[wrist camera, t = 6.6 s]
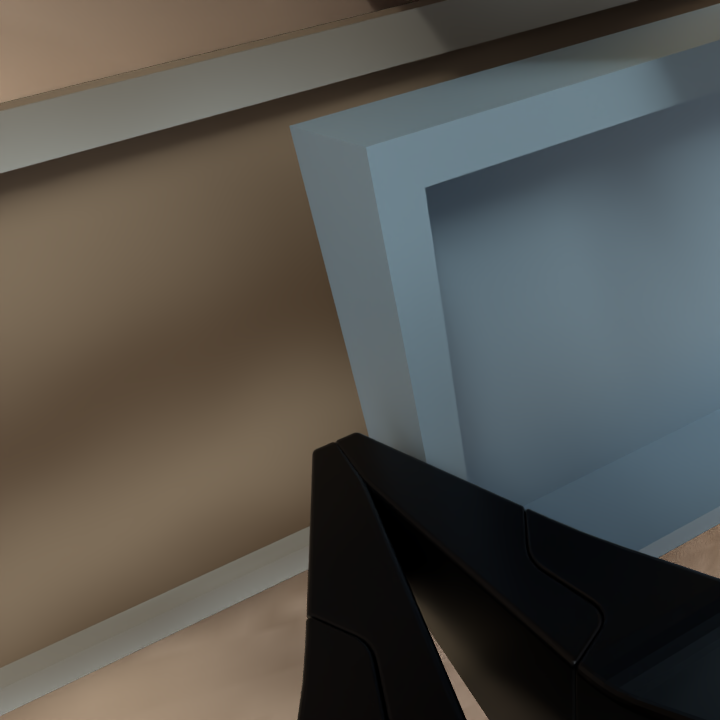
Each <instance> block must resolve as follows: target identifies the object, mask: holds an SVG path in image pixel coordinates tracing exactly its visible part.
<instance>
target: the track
mask: <svg viewBox="0 0 720 720" xmlns="http://www.w3.org/2000/svg"><path fill="white" fill-rule="evenodd" d="M719 3H720V0H421V1H416V2H412V3H408V4H404V5H400V6H396V7H392V8H388V9H384V10H380V11H376V12H372V13H367V14H363V15H359V16H355V17H351V18H347V19H343V20H339V21H335V22H331V23H327V24H323V25H318V26H314V27H310V28H306V29H302V30H298V31H294V32H290V33H286V34H282V35H278V36H274V37H269V38H265V39H261V40H257V41H253V42H249V43H245V44H241V45H237V46H233V47H229V48H225V49H220V50H216V51H212V52H208V53H204V54H200V55H196V56H192V57H188V58H184V59H180V60H176V61H171V62H167V63H163V64H159V65H155V66H151V67H147V68H143V69H139V70H135V71H131V72H127V73H122V74H118V75H114V76H110V77H106V78H102V79H98V80H94V81H90V82H86V83H82V84H78V85H73V86H69V87H65V88H61V89H57V90H53V91H49V92H45V93H41V94H37V95H33V96H29V97H24V98H20V99H16V100H12V101H8V102H4V103H0V716H1V715H3V714H6V713H8V712H10V711H12V710H14V709H16V708H18V707H20V706H22V705H24V704H26V703H29V702H31V701H33V700H35V699H37V698H39V697H41V696H43V695H45V694H47V693H50V692H52V691H54V690H56V689H58V688H60V687H62V686H64V685H66V684H68V683H71V682H73V681H75V680H77V679H79V678H81V677H83V676H85V675H87V674H89V673H92V672H94V671H96V670H98V669H100V668H102V667H104V666H106V665H108V664H110V663H112V662H115V661H117V660H119V659H121V658H123V657H125V656H127V655H129V654H131V653H133V652H136V651H138V650H140V649H142V648H144V647H146V646H148V645H150V644H152V643H154V642H157V641H159V640H161V639H163V638H165V637H167V636H169V635H171V634H173V633H175V632H177V631H180V630H182V629H184V628H186V627H188V626H190V625H192V624H194V623H196V622H198V621H201V620H203V619H205V618H207V617H209V616H211V615H213V614H215V613H217V612H219V611H222V610H224V609H226V608H228V607H230V606H232V605H234V604H236V603H238V602H240V601H242V600H245V599H247V598H249V597H251V596H253V595H255V594H257V593H259V592H261V591H263V590H266V589H268V588H270V587H272V586H274V585H276V584H278V583H280V582H282V581H284V580H287V579H289V578H291V577H293V576H295V575H297V574H299V573H301V572H303V571H305V570H307V569H308V563H309V534H310V505H311V476H312V453H313V451H314V450H315V449H317V448H319V447H322V446H324V445H327V444H329V443H331V442H336V441H337V440H338V439H341V438H343V437H345V436H348V435H350V434H352V433H355V432H357V433H361V434H363V435H366V436H368V437H369V435H368V431H367V427H366V423H365V419H364V415H363V412H362V408H361V404H360V400H359V396H358V392H357V388H356V384H355V380H354V376H353V373H352V369H351V365H350V361H349V357H348V353H347V349H346V345H345V341H344V337H343V334H342V330H341V326H340V322H339V318H338V314H337V310H336V306H335V302H334V299H333V295H332V291H331V287H330V283H329V279H328V275H327V271H326V267H325V263H324V260H323V256H322V252H321V248H320V244H319V240H318V236H317V232H316V228H315V224H314V221H313V217H312V213H311V209H310V205H309V201H308V197H307V193H306V189H305V185H304V182H303V178H302V174H301V170H300V166H299V162H298V158H297V154H296V150H295V146H294V143H293V139H292V135H291V131H290V127H289V126H291V125H294V124H298V123H301V122H305V121H308V120H312V119H315V118H319V117H322V116H326V115H329V114H333V113H336V112H340V111H343V110H347V109H350V108H354V107H357V106H361V105H364V104H368V103H371V102H375V101H378V100H382V99H385V98H389V97H392V96H396V95H400V94H403V93H407V92H410V91H414V90H417V89H421V88H424V87H428V86H431V85H435V84H438V83H442V82H445V81H449V80H452V79H456V78H459V77H463V76H466V75H470V74H473V73H477V72H480V71H484V70H487V69H491V68H494V67H498V66H501V65H505V64H508V63H512V62H515V61H519V60H523V59H526V58H530V57H533V56H537V55H540V54H544V53H547V52H551V51H554V50H558V49H561V48H565V47H568V46H572V45H575V44H579V43H582V42H586V41H589V40H593V39H596V38H600V37H603V36H607V35H610V34H614V33H617V32H621V31H624V30H628V29H631V28H635V27H638V26H642V25H646V24H649V23H653V22H656V21H660V20H663V19H667V18H670V17H674V16H677V15H681V14H684V13H688V12H691V11H695V10H698V9H702V8H705V7H709V6H712V5H716V4H719Z"/></svg>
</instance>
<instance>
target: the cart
mask: <svg viewBox="0 0 720 720" xmlns="http://www.w3.org/2000/svg"><path fill="white" fill-rule="evenodd" d="M289 127H290V131H291V135H292V139H293V143H294V146H295V150H296V154H297V158H298V162H299V166H300V170H301V174H302V178H303V182H304V185H305V189H306V193H307V197H308V201H309V205H310V209H311V213H312V217H313V221H314V224H315V228H316V232H317V236H318V240H319V244H320V248H321V252H322V256H323V260H324V263H325V267H326V271H327V275H328V279H329V283H330V287H331V291H332V295H333V299H334V302H335V306H336V310H337V314H338V318H339V322H340V326H341V330H342V334H343V337H344V341H345V345H346V349H347V353H348V357H349V361H350V365H351V369H352V373H353V376H354V380H355V384H356V388H357V392H358V396H359V400H360V404H361V408H362V412H363V415H364V419H365V423H366V427H367V431H368V435H369V437H370V438H372V439H374V440H377V441H379V442H381V443H383V444H386V445H388V446H390V447H392V448H395V449H397V450H399V451H401V452H403V453H406V454H408V455H410V456H412V457H415V458H417V459H419V460H421V461H424V462H426V463H428V464H430V465H432V466H435V467H437V468H439V469H441V470H444V471H446V472H448V473H450V474H453V475H455V476H457V477H459V478H462V479H464V480H466V481H468V482H470V483H473V484H475V485H477V486H479V487H482V488H484V489H486V490H488V491H491V492H493V493H495V494H497V495H499V496H502V497H504V498H506V499H508V500H511V501H513V502H515V503H517V504H520V505H522V506H524V508H525V510H526V509H531V510H533V511H536V512H538V513H540V514H542V515H545V516H547V517H549V518H551V519H554V520H556V521H559V522H561V523H563V524H566V525H568V526H571V527H573V528H575V529H578V530H580V531H583V532H585V533H588V534H591V535H593V536H596V537H599V538H602V539H604V540H607V541H610V542H613V543H615V544H618V545H621V546H624V547H627V548H630V549H633V550H636V551H639V552H641V553H644V554H647V555H650V556H653V557H656V558H658V557H660V556H662V555H664V554H666V553H667V552H669V551H671V550H673V549H675V548H676V547H678V546H680V545H682V544H684V543H685V542H687V541H689V540H691V539H693V538H694V537H696V536H698V535H700V534H702V533H703V532H705V531H707V530H709V529H711V528H712V527H714V526H716V525H718V524H720V3H719V4H716V5H712V6H709V7H705V8H702V9H698V10H695V11H691V12H688V13H684V14H681V15H677V16H674V17H670V18H667V19H663V20H660V21H656V22H653V23H649V24H646V25H642V26H638V27H635V28H631V29H628V30H624V31H621V32H617V33H614V34H610V35H607V36H603V37H600V38H596V39H593V40H589V41H586V42H582V43H579V44H575V45H572V46H568V47H565V48H561V49H558V50H554V51H551V52H547V53H544V54H540V55H537V56H533V57H530V58H526V59H523V60H519V61H515V62H512V63H508V64H505V65H501V66H498V67H494V68H491V69H487V70H484V71H480V72H477V73H473V74H470V75H466V76H463V77H459V78H456V79H452V80H449V81H445V82H442V83H438V84H435V85H431V86H428V87H424V88H421V89H417V90H414V91H410V92H407V93H403V94H400V95H396V96H392V97H389V98H385V99H382V100H378V101H375V102H371V103H368V104H364V105H361V106H357V107H354V108H350V109H347V110H343V111H340V112H336V113H333V114H329V115H326V116H322V117H319V118H315V119H312V120H308V121H305V122H301V123H298V124H294V125H291V126H289Z"/></svg>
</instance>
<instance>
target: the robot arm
mask: <svg viewBox="0 0 720 720" xmlns="http://www.w3.org/2000/svg"><path fill="white" fill-rule="evenodd" d="M307 618H308V619H307V621H306V640H305V656H304V670H303V683H302V691H301V698H300V705H299V713H298V720H466V717H465V715H464V713H463V710H462V708H461V706H460V703H459V701H458V698H457V696H456V694H455V691H454V689H453V687H452V684H451V682H450V679H449V677H448V675H447V672H446V670H445V668H444V665H443V663H442V661H441V658H440V656H439V653H438V651H437V649H436V646H435V644H434V642H433V639H432V637H431V634H430V632H431V633H432V635H433V636H434V638H435V639H436V641H437V642H438V644H439V645H440V647H441V648H442V650H443V651H444V653H445V654H446V656H447V657H448V659H449V660H450V662H451V663H452V665H453V666H454V668H455V669H456V671H457V672H458V674H459V675H460V677H461V678H462V680H463V681H464V683H465V684H466V686H467V687H468V689H469V690H470V692H471V693H472V695H473V696H474V698H475V699H476V701H477V702H478V704H479V705H480V707H481V708H482V710H483V711H484V713H485V714H486V716H487V717H488V719H489V720H720V579H719V578H716V577H713V576H710V575H707V574H704V573H701V572H698V571H695V570H692V569H689V568H686V567H683V566H680V565H677V564H674V563H671V562H668V561H665V560H662V559H659V558H656V557H653V556H650V555H647V554H644V553H641V552H639V551H636V550H633V549H630V548H627V547H624V546H621V545H618V544H615V543H613V542H610V541H607V540H604V539H602V538H599V537H596V536H593V535H591V534H588V533H585V532H583V531H580V530H578V529H575V528H573V527H571V526H568V525H566V524H563V523H561V522H559V521H556V520H554V519H551V518H549V517H547V516H545V515H542V514H540V513H538V512H536V511H533V510H531V509H526V510H525V508H524V506H522V505H520V504H517V503H515V502H513V501H511V500H508V499H506V498H504V497H502V496H499V495H497V494H495V493H493V492H491V491H488V490H486V489H484V488H482V487H479V486H477V485H475V484H473V483H470V482H468V481H466V480H464V479H462V478H459V477H457V476H455V475H453V474H450V473H448V472H446V471H444V470H441V469H439V468H437V467H435V466H432V465H430V464H428V463H426V462H424V461H421V460H419V459H417V458H415V457H412V456H410V455H408V454H406V453H403V452H401V451H399V450H397V449H395V448H392V447H390V446H388V445H386V444H383V443H381V442H379V441H377V440H374V439H372V438H370V437H368V436H366V435H363V434H361V433H357V432H355V433H352V434H350V435H348V436H345V437H343V438H341V439H338V440H337V441H336V442H331V443H329V444H327V445H324V446H322V447H319V448H317V449H315V450H314V451H313V453H312V476H311V505H310V534H309V563H308V592H307ZM428 629H429V630H430V632H429V630H428Z"/></svg>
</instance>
